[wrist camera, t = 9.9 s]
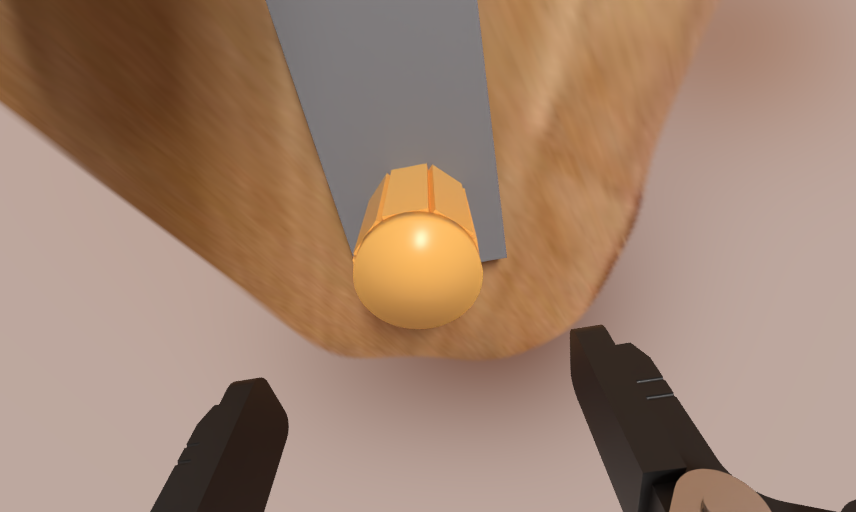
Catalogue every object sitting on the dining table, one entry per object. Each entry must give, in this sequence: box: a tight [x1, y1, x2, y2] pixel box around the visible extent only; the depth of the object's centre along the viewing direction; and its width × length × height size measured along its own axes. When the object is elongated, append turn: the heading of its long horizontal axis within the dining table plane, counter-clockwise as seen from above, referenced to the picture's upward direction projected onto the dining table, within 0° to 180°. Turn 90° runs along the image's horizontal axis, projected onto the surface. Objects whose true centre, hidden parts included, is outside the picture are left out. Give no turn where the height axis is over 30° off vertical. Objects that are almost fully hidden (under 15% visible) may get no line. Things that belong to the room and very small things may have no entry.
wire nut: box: [352, 163, 483, 329], centre depth 17 cm, size 5×5×6 cm
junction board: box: [266, 0, 507, 262], centre depth 17 cm, size 14×8×5 cm, turn 11°
